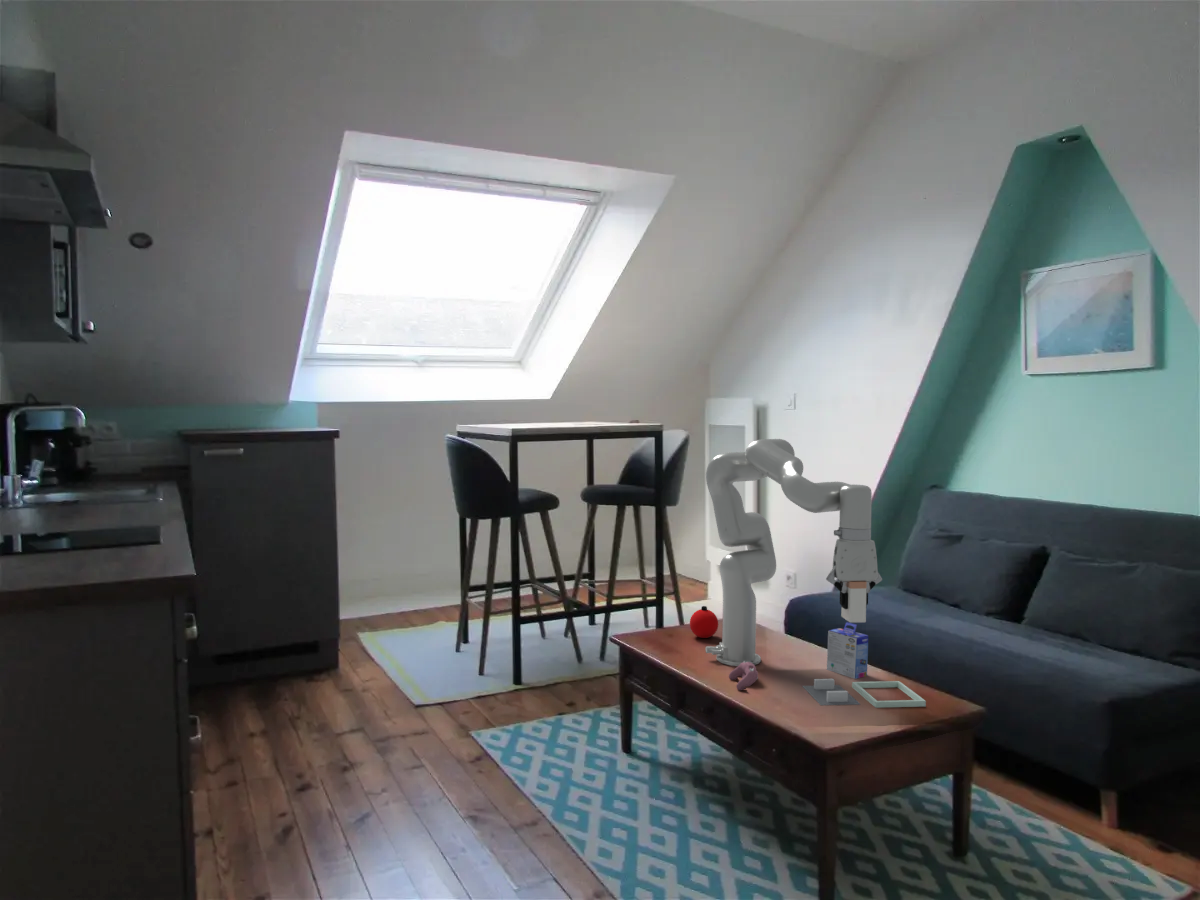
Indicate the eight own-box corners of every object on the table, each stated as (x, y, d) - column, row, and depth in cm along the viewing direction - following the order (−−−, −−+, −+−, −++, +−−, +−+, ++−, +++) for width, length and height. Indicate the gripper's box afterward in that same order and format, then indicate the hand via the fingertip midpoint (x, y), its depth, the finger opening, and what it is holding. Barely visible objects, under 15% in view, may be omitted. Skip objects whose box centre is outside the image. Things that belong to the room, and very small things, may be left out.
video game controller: (751, 696, 217) (763, 672, 217) (735, 689, 217) (748, 665, 217) (741, 684, 227) (753, 661, 227) (726, 676, 227) (738, 653, 227)
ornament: (724, 637, 266) (724, 606, 265) (705, 643, 260) (706, 611, 259) (702, 632, 273) (702, 601, 272) (683, 637, 266) (684, 606, 266)
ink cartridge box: (868, 679, 227) (870, 626, 226) (855, 683, 224) (856, 629, 223) (838, 670, 235) (840, 618, 234) (825, 673, 232) (827, 621, 231)
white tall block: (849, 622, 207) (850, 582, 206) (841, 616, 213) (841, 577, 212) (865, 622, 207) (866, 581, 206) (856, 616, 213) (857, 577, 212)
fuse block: (820, 710, 204) (821, 695, 204) (801, 690, 218) (802, 676, 218) (860, 709, 205) (861, 694, 205) (839, 689, 219) (839, 675, 219)
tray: (875, 712, 203) (875, 702, 203) (851, 691, 217) (852, 682, 217) (925, 711, 204) (925, 700, 204) (898, 690, 218) (899, 680, 218)
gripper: (827, 537, 204) (825, 611, 205) (894, 536, 205) (892, 610, 206) (817, 532, 212) (815, 604, 213) (881, 532, 213) (880, 603, 214)
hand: (853, 607), depth 210 cm, fingers closed on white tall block, 4 cm apart
